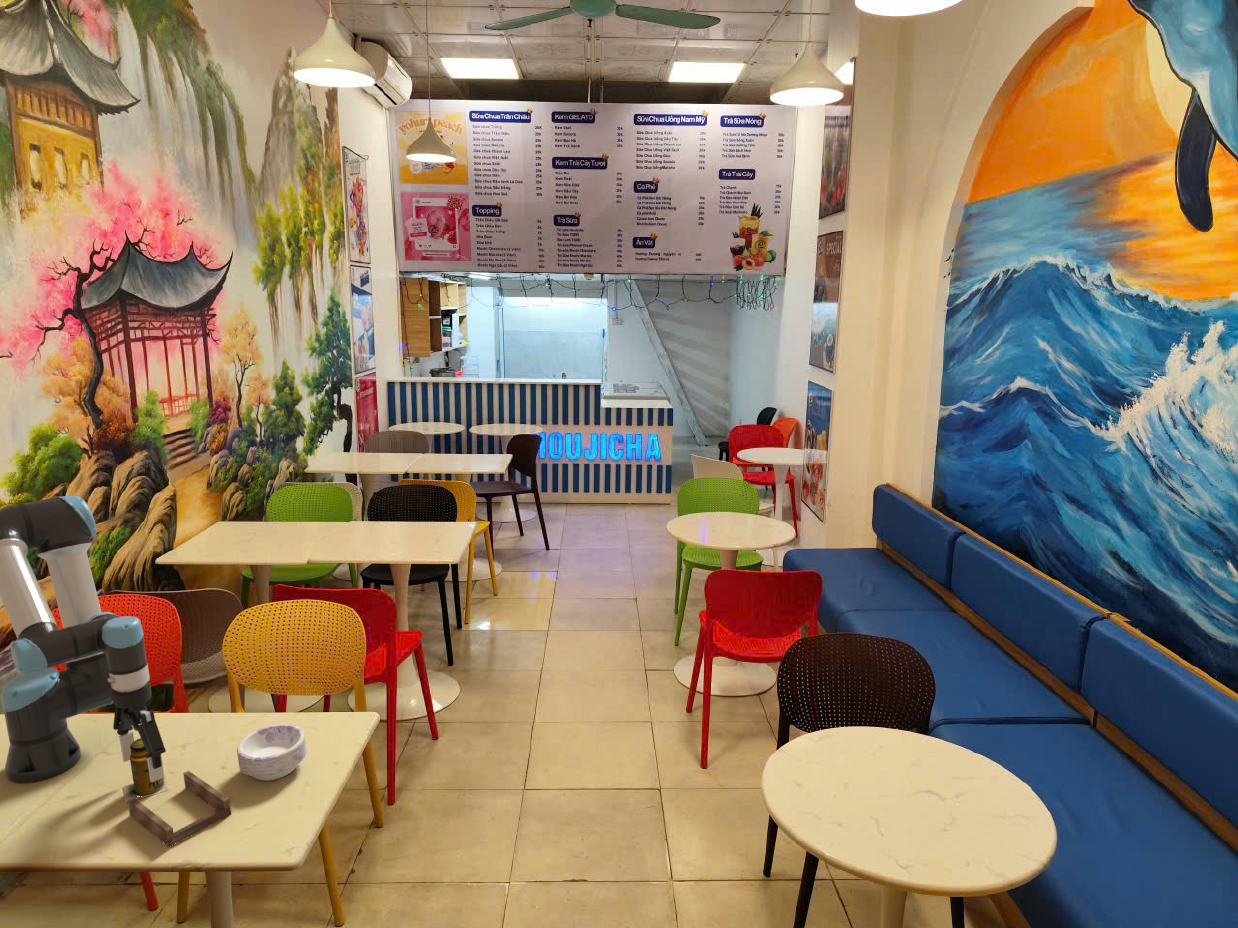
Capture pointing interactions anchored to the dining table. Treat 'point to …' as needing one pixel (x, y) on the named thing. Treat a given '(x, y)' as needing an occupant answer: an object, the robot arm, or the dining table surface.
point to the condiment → (142, 774)
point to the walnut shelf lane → (170, 838)
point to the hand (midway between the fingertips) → (143, 768)
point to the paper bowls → (272, 751)
